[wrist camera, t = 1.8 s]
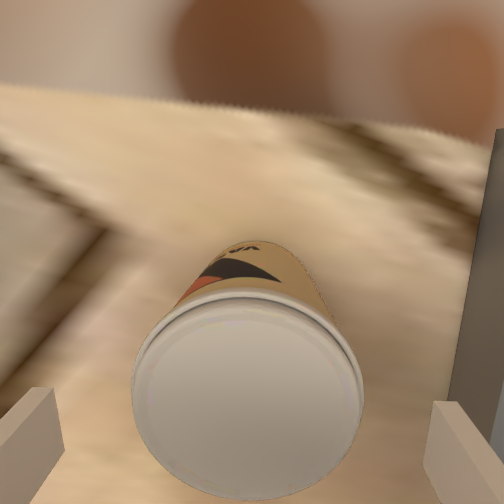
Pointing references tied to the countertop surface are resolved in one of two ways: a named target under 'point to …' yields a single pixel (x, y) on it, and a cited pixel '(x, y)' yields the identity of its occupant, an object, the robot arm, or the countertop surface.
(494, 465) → the robot arm
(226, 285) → the coffee cup
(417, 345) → the countertop surface
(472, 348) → the walled box
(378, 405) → the countertop surface
